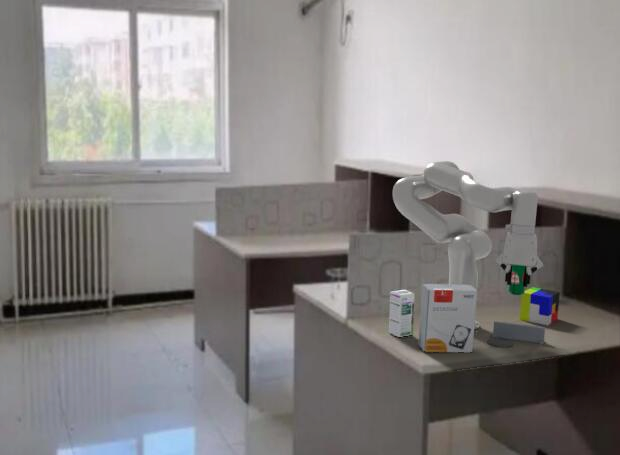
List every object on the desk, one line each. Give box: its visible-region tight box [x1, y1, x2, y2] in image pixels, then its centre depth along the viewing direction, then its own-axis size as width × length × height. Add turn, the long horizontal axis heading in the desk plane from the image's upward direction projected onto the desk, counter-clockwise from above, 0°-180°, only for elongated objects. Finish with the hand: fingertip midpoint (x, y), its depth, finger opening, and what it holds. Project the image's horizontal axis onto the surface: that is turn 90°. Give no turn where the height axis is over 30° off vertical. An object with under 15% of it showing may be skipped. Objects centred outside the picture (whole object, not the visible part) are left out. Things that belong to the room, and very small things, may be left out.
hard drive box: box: [418, 283, 478, 353], centre depth 233 cm, size 16×8×20 cm, turn 96°
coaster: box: [486, 337, 514, 348], centre depth 241 cm, size 8×8×1 cm
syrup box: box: [388, 289, 415, 337], centre depth 246 cm, size 6×6×14 cm
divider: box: [491, 320, 546, 345], centre depth 245 cm, size 16×4×5 cm, turn 68°
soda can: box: [508, 265, 527, 296], centre depth 243 cm, size 5×5×12 cm
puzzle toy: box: [519, 286, 561, 326], centre depth 268 cm, size 10×10×10 cm
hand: (517, 284), depth 243 cm, fingers closed on soda can, 5 cm apart
